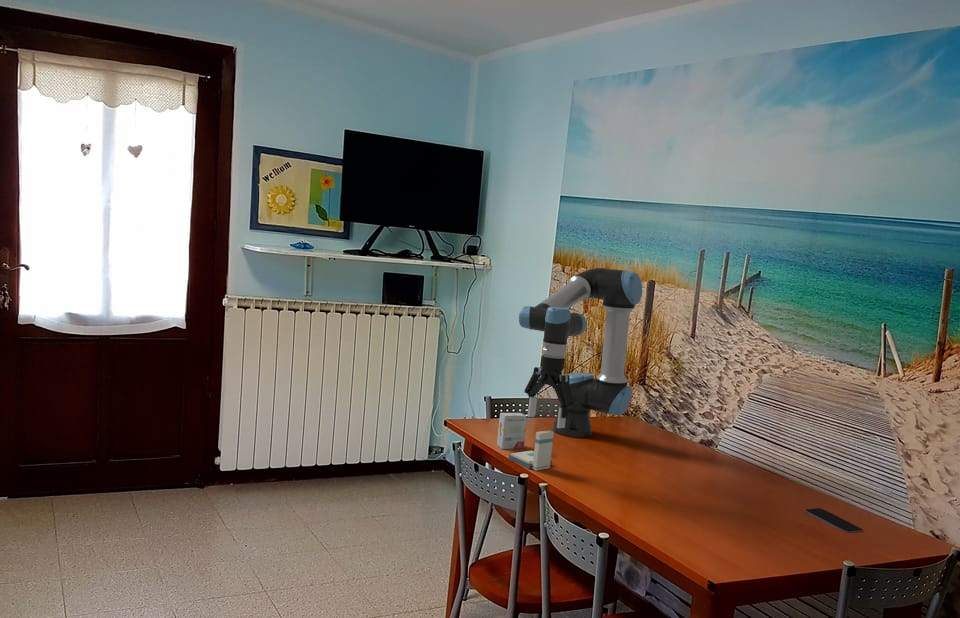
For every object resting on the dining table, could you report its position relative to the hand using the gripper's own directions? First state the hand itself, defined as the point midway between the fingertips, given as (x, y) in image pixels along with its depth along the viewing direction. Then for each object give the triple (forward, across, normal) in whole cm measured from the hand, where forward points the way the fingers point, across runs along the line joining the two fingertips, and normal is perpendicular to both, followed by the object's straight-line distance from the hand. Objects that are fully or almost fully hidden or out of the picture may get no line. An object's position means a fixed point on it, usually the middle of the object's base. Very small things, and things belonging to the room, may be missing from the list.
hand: (545, 422), depth 223 cm
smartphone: (+16, +68, +52) cm, 88 cm away
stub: (+16, 0, 0) cm, 16 cm away
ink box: (+16, -22, +6) cm, 28 cm away
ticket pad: (+15, -6, +2) cm, 17 cm away
